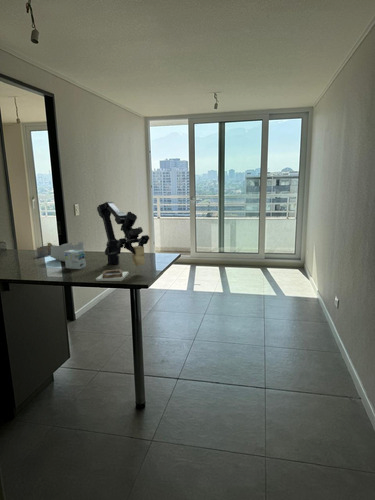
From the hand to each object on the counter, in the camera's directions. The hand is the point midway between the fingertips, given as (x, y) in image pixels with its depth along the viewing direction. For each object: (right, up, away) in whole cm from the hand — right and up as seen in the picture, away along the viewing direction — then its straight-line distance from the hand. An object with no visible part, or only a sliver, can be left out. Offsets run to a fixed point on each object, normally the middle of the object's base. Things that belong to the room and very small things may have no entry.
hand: (139, 253), depth 184 cm
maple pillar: (-1, -6, +2) cm, 7 cm away
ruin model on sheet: (-78, -3, +60) cm, 99 cm away
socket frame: (-14, -12, -3) cm, 19 cm away
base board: (-14, -13, -2) cm, 20 cm away
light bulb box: (-43, -10, +22) cm, 49 cm away
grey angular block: (-55, -5, +44) cm, 70 cm away
